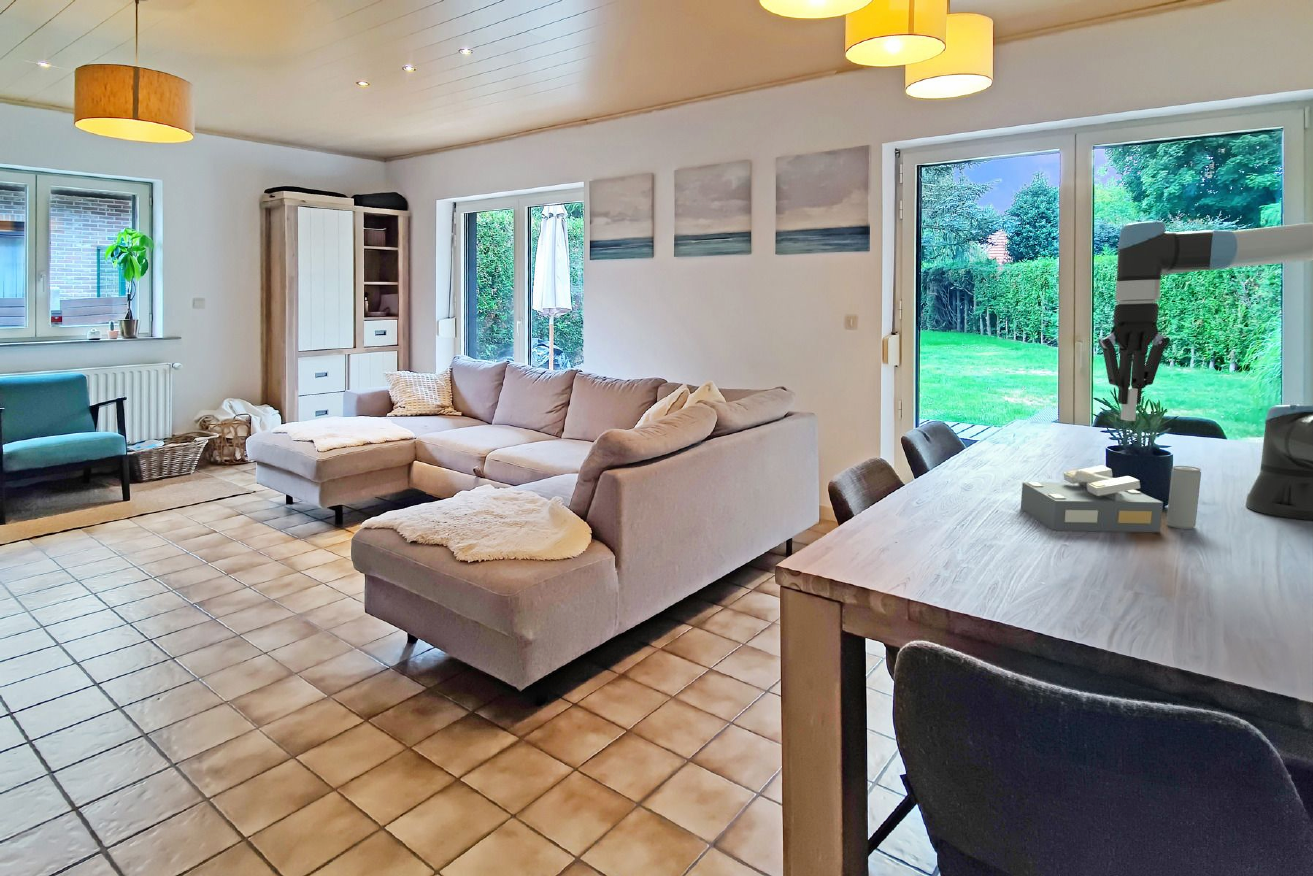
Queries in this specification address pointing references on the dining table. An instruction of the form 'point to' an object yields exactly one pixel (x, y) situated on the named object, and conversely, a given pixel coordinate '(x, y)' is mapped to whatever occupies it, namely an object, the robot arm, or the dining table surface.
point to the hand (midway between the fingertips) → (1127, 419)
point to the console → (1090, 508)
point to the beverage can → (1183, 497)
